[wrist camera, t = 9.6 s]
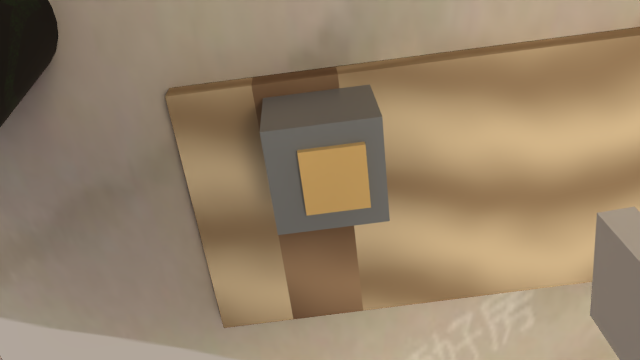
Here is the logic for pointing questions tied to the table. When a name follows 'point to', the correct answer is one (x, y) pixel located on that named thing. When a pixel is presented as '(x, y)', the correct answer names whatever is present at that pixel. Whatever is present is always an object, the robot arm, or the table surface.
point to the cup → (24, 48)
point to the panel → (426, 177)
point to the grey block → (325, 159)
